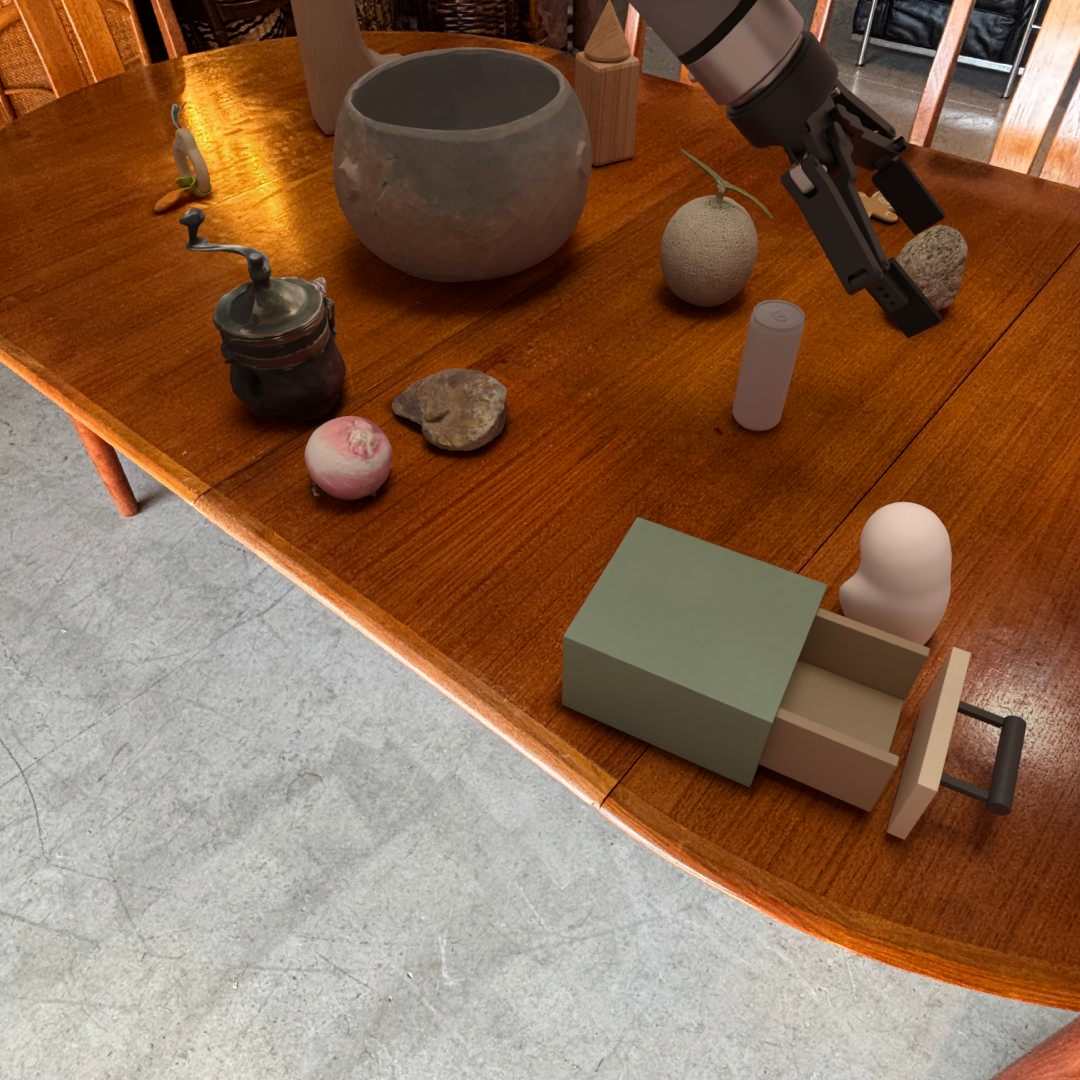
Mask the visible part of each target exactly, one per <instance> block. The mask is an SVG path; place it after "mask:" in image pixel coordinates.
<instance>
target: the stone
mask: <svg viewBox="0 0 1080 1080" xmlns="http://www.w3.org/2000/svg"><path fill="white" fill-rule="evenodd" d="M967 256H968V244H967V242H966V239H965V238H964V237H963V235H962V233H961V232H960V231H958V230H957V229H955V228H954V227H951V226H949V225H941V224H938V225H935V226H934V225H933V226H932V227H929V228H928V229H925V230H924V231H922V232H920V233H919V234H917V235H916V236H915V237H914V238H912V239H911V240H909V241H908V242H907V243H906V244H905V245H904V246H903V248H902V250H901V251H900V252H899V254H898V255H897V257H896V258H895V259H896V261H897V262H898V263H899V264H900V266H901V267H902V268H903V269H904V270H905V272H906V273H907V274H908V275H909V277H910V278H911V279H912V280H913V281H914V283H915V284H916V285H917V286H918V288H919V289H920V290H921V291H922V292H923V294H924V295H925V296H926V297H927V298H928V300H929V301H930V302H931V303H932V305H933V306H934V307H935V308H936V309H937V311H938V312H939V311H940V310H941V309H946V308H947V307H949V306H951V304H952V303H953V302H954V301H953V300H955V299H957V295H958V292H959V289H960V288H961V287H962V281H963V280H962V279H963V273H964V269H965V265H966V260H967Z"/></svg>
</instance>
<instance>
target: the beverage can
mask: <svg viewBox="0 0 1080 1080" xmlns="http://www.w3.org/2000/svg"><path fill="white" fill-rule="evenodd" d="M805 318H806V316H805V312H804V311H803V309H802V308H801V307H800V306H798V305H797V304H795V303H793V302H790V301H787V300H782V299H767V300H764V301H761V302H759V303H758V304H756V305H755V306H754V307H753V310H752V313H751V315H750V317H749V321H748V327H747V332H746V337H745V338H746V339H745V343H744V347H743V352H742V357H741V363H740V369H739V374H738V380H737V384H736V389H735V395H734V399H733V404H732V416H733V417H734V420H735V421H736V422H737V423H738V424H739V425H740V426H741V427H743V428H744V429H747V430H749V431H753V432H764V431H767V430H768V431H769V430H771V429H773V428H775V427H776V426H777V425H779V422H781V418H782V414H783V411H784V408H785V403H786V399H787V395H788V393H789V392H788V391H789V389H790V384H791V380H792V377H793V372H794V368H795V364H796V361H797V357H798V353H799V349H800V345H801V340H802V337H803V333H804V330H805V329H804V328H805V323H806V322H805Z"/></svg>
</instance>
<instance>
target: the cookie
mask: <svg viewBox="0 0 1080 1080" xmlns="http://www.w3.org/2000/svg"><path fill="white" fill-rule="evenodd" d="M858 193H859V195H860V198H861V200H862V202H863V205H864V207H865V209H866V212H867V214H868V216H869V218H871V217H872V218H873V217H874V218H875V219H878V220H880V221H882V222H885V223H887V224H888V223H889V224H891V223H896V222H897V221H898V218H899V216H898V214H897V213H896V211H895V210H894V209H893V208H892V206H891V205H890V204H889V203H888V201H887V200H886V199H885V198H884V196H883V195H882V194H881V193H880V191H879V190H878V191H876V192H875V193H873V194H872V195H871V196H870V197H869V196H867V195H866V193H865V192H862V191H858Z"/></svg>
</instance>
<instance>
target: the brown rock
mask: <svg viewBox="0 0 1080 1080" xmlns="http://www.w3.org/2000/svg"><path fill="white" fill-rule="evenodd" d="M507 397H508V390H507V387H506V385H503V383H501V382H500V381H498V379H497V378H495V377H493V376H491V375H488V374H487V373H484V372H482V371H481V370H477V369H467V368H461V367H457V368H456V367H455V368H454V367H452V368H451V367H450V368H448V369H442V370H439V371H438V372H434V373H432V374H429V376H425V377H424V378H421V379H418V380H416V381H414V382H412V383H411V384H410V385H409V386H408V387H406V389H405V390H403V392H401V393H400V394H399V395H397V396H395V397H394V399H393V400H392V404H391V408H392V411H393V412H394V414H395V415H397V416H400V417H401V418H403V419H409V420H410V421H412V422H415V423H417V424H418V425H420V426H421V432H422V435H423V437H424V438H425V440H426V441H427V442H429V443H430V444H432V445H434V446H435V447H437V448H439V449H441V450H448V451H450V452H451V451H452V452H455V451H458V452H459V451H463V452H466V451H474V450H477V449H479V448H481V447H483V446H485V445H487V444H488V443H490V442H492V441H493V440H494V439H495V438H497V437H498V436H499V435H500V434H502V432H503V430H504V428H505V424H506V421H507V412H508V405H507Z"/></svg>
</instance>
